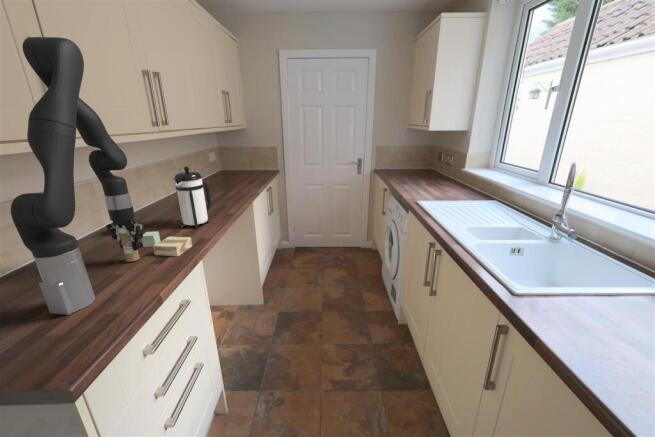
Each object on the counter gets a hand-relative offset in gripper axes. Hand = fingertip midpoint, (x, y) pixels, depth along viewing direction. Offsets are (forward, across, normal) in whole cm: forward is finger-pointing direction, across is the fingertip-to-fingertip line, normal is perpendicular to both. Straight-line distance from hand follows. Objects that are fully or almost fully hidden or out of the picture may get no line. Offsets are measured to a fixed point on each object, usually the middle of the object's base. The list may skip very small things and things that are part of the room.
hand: (130, 249), depth 109 cm
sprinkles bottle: (+4, 0, 0) cm, 4 cm away
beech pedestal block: (+5, +10, +10) cm, 15 cm away
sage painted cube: (+5, -4, +15) cm, 16 cm away
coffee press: (+5, +1, +42) cm, 42 cm away
